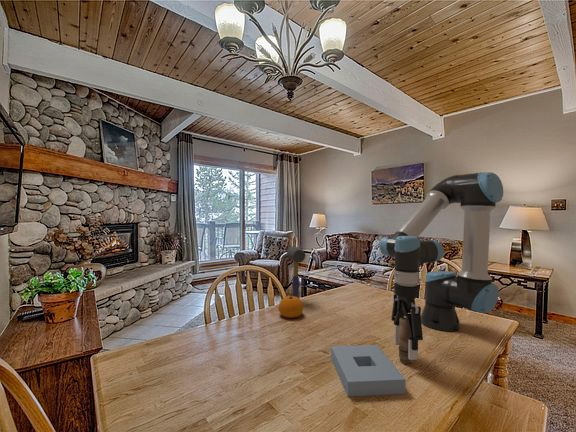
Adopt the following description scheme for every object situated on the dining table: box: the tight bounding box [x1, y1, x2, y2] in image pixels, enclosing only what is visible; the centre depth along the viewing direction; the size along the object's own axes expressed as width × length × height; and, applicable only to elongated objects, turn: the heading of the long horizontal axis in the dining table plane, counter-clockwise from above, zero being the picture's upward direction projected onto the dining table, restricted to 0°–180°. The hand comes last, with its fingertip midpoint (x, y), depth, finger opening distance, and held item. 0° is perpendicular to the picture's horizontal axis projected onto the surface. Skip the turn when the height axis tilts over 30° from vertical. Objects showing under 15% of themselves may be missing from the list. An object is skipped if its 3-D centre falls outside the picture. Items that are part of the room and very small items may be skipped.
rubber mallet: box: [286, 246, 306, 299], centre depth 153 cm, size 12×8×30 cm, turn 16°
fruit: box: [278, 294, 304, 319], centre depth 136 cm, size 12×12×10 cm
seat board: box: [330, 344, 407, 397], centre depth 88 cm, size 16×20×4 cm
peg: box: [398, 316, 412, 366], centre depth 95 cm, size 4×4×14 cm
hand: (405, 351), depth 95 cm, fingers open, 9 cm apart
